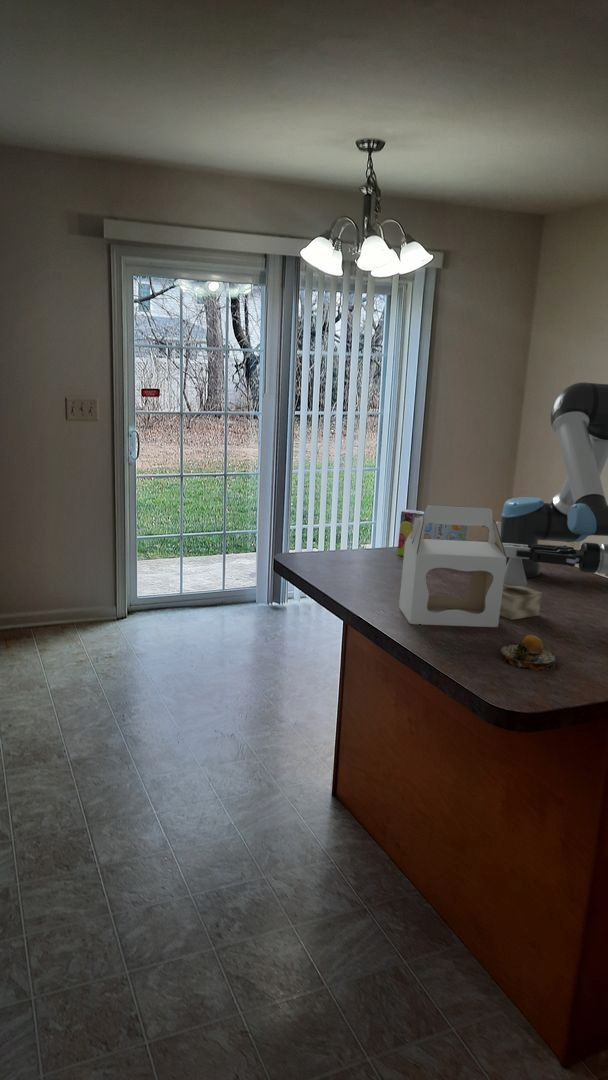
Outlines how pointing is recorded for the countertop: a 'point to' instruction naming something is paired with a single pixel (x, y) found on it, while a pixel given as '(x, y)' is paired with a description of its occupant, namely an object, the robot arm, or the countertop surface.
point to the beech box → (519, 602)
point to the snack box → (428, 530)
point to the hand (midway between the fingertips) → (502, 549)
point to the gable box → (459, 556)
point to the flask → (515, 571)
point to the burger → (528, 654)
